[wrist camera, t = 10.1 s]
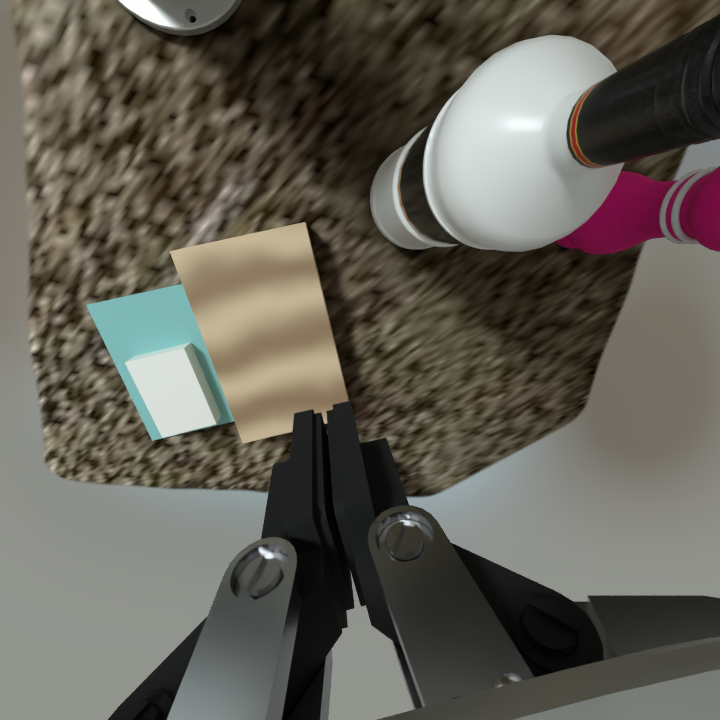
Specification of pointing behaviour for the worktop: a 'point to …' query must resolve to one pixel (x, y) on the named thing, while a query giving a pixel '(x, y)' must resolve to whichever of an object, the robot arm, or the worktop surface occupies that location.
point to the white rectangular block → (174, 389)
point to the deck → (264, 327)
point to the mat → (154, 339)
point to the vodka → (544, 141)
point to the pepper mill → (653, 213)
